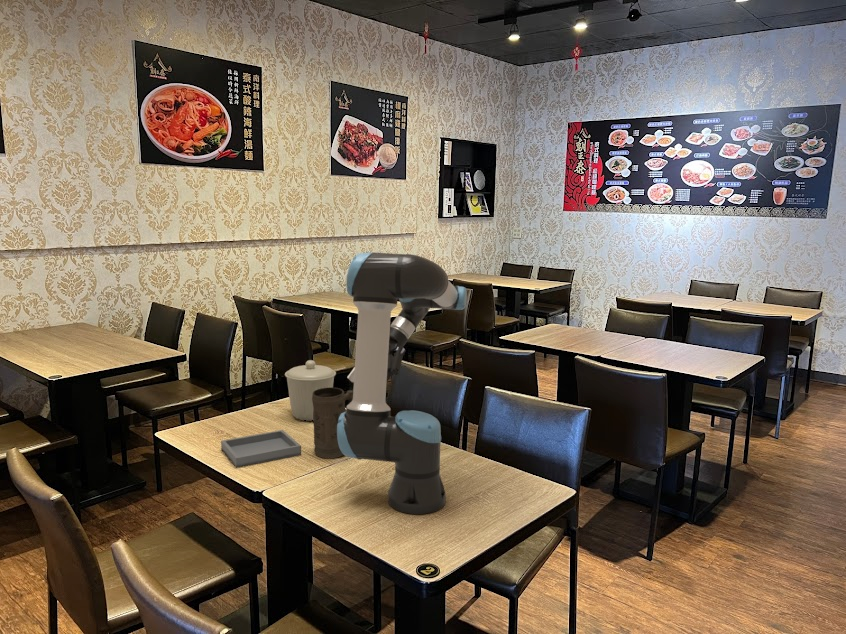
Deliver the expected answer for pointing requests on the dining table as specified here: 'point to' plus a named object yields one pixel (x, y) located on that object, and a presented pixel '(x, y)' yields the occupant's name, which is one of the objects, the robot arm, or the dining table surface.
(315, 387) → the canister
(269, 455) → the tray
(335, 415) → the beer stein
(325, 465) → the dining table surface
